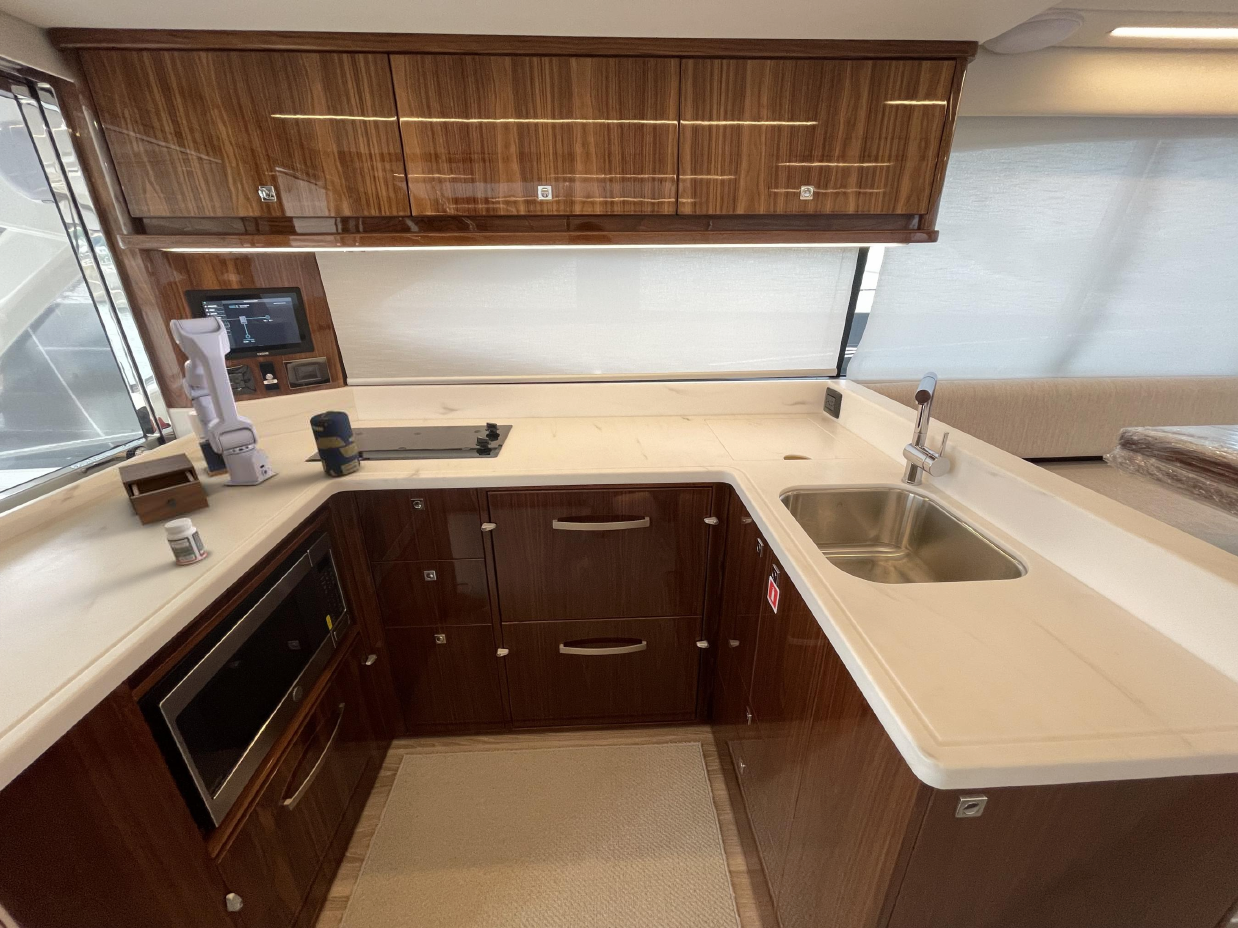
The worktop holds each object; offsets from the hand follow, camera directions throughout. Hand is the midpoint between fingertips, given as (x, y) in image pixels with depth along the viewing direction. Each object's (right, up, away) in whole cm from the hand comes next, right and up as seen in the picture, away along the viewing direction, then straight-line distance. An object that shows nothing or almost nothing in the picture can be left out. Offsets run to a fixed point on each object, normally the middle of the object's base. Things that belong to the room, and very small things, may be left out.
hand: (226, 462), depth 150 cm
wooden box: (-1, -9, -18) cm, 21 cm away
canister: (+39, -3, -6) cm, 39 cm away
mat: (0, -2, +1) cm, 2 cm away
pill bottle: (+31, -20, -49) cm, 61 cm away
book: (0, -1, 0) cm, 1 cm away
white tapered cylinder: (-11, +2, +11) cm, 16 cm away
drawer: (+8, -11, -27) cm, 31 cm away
